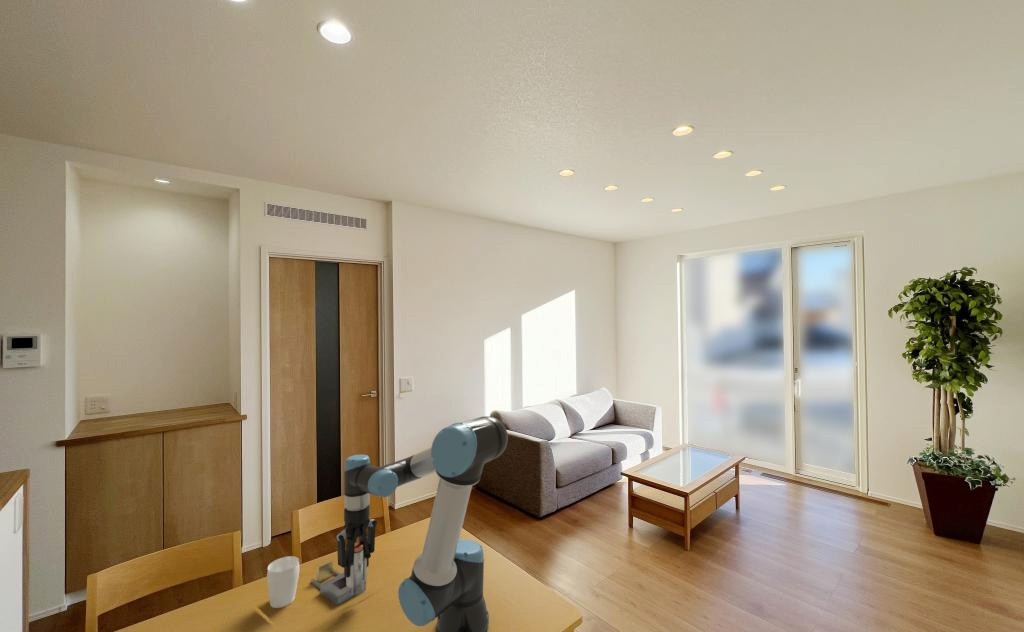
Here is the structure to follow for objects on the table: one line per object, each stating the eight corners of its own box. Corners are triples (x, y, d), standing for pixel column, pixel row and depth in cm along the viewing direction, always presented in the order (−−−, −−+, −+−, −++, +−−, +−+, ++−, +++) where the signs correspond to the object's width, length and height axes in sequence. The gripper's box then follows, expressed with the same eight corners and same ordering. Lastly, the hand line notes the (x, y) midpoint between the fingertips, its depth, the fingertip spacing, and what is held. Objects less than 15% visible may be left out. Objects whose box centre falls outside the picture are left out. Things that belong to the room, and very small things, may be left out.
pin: (365, 590, 128) (366, 544, 128) (354, 596, 124) (354, 549, 125) (358, 585, 130) (358, 540, 131) (347, 592, 127) (347, 546, 127)
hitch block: (373, 586, 136) (373, 576, 137) (334, 609, 125) (334, 598, 125) (343, 567, 147) (343, 558, 147) (304, 587, 136) (305, 576, 136)
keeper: (332, 575, 141) (332, 560, 141) (318, 582, 137) (319, 567, 137) (330, 573, 142) (330, 559, 142) (316, 580, 138) (316, 565, 138)
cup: (284, 614, 123) (285, 574, 123) (258, 610, 125) (259, 570, 125) (305, 595, 132) (306, 557, 132) (281, 591, 133) (282, 554, 134)
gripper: (373, 494, 137) (372, 565, 136) (324, 512, 124) (324, 592, 123) (386, 499, 133) (386, 573, 132) (338, 519, 119) (337, 601, 118)
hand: (356, 582), depth 127 cm, fingers closed on pin, 4 cm apart
